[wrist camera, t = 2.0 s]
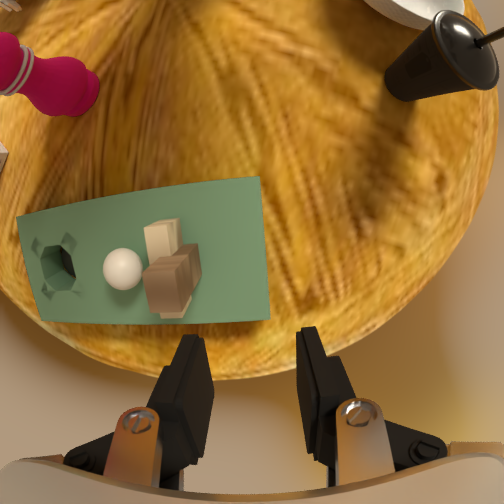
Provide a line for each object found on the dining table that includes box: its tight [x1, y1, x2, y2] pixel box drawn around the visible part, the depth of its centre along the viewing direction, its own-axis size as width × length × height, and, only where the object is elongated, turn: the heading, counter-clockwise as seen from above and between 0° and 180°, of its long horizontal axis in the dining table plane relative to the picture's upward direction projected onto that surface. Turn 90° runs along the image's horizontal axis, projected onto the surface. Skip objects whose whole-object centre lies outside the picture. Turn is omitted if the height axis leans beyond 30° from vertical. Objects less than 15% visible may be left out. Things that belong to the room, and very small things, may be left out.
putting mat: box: [16, 176, 270, 324], centre depth 29 cm, size 14×30×4 cm, turn 95°
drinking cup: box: [385, 10, 504, 102], centre depth 16 cm, size 8×8×20 cm
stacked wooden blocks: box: [142, 218, 202, 319], centre depth 23 cm, size 8×3×8 cm, turn 5°
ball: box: [103, 248, 143, 290], centre depth 25 cm, size 4×4×4 cm
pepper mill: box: [0, 32, 99, 117], centre depth 17 cm, size 7×7×20 cm
